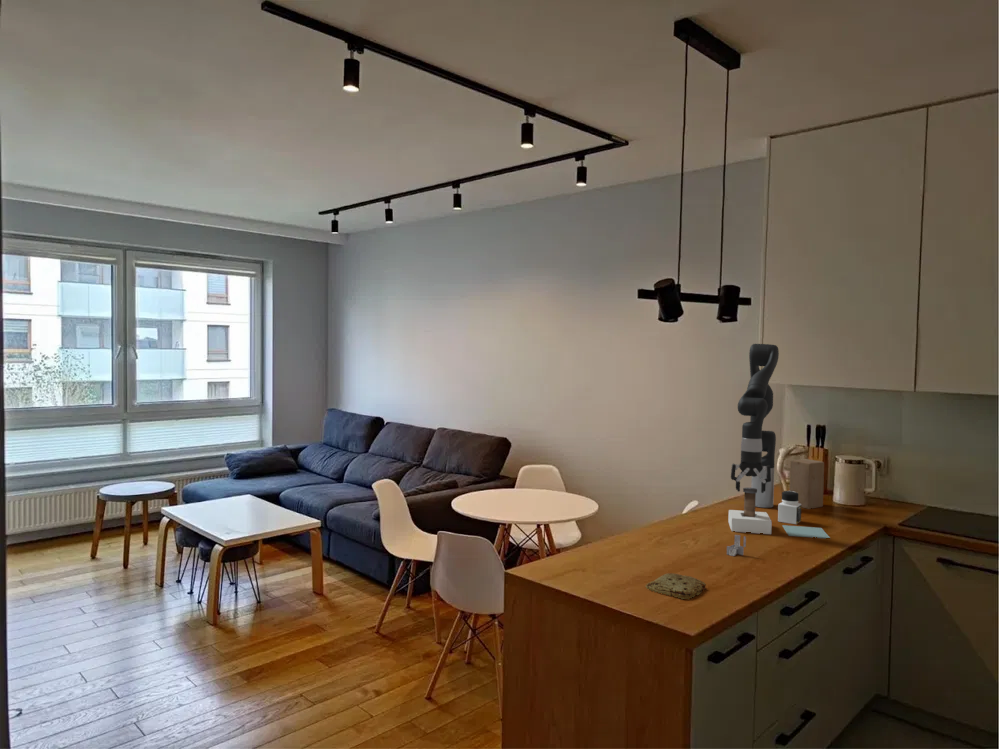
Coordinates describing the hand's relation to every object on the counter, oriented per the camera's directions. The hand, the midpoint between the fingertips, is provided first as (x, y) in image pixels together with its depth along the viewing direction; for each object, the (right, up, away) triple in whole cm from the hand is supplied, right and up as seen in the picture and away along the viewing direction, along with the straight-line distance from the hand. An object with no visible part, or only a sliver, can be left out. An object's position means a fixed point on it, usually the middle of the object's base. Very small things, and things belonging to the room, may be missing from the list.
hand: (750, 491), depth 256 cm
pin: (0, -14, +1) cm, 14 cm away
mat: (+19, -15, -4) cm, 24 cm away
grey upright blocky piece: (-16, -16, -39) cm, 45 cm away
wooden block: (+40, -13, +40) cm, 58 cm away
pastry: (-46, -17, -66) cm, 82 cm away
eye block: (0, -14, +1) cm, 14 cm away
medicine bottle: (+20, -14, +12) cm, 27 cm away
